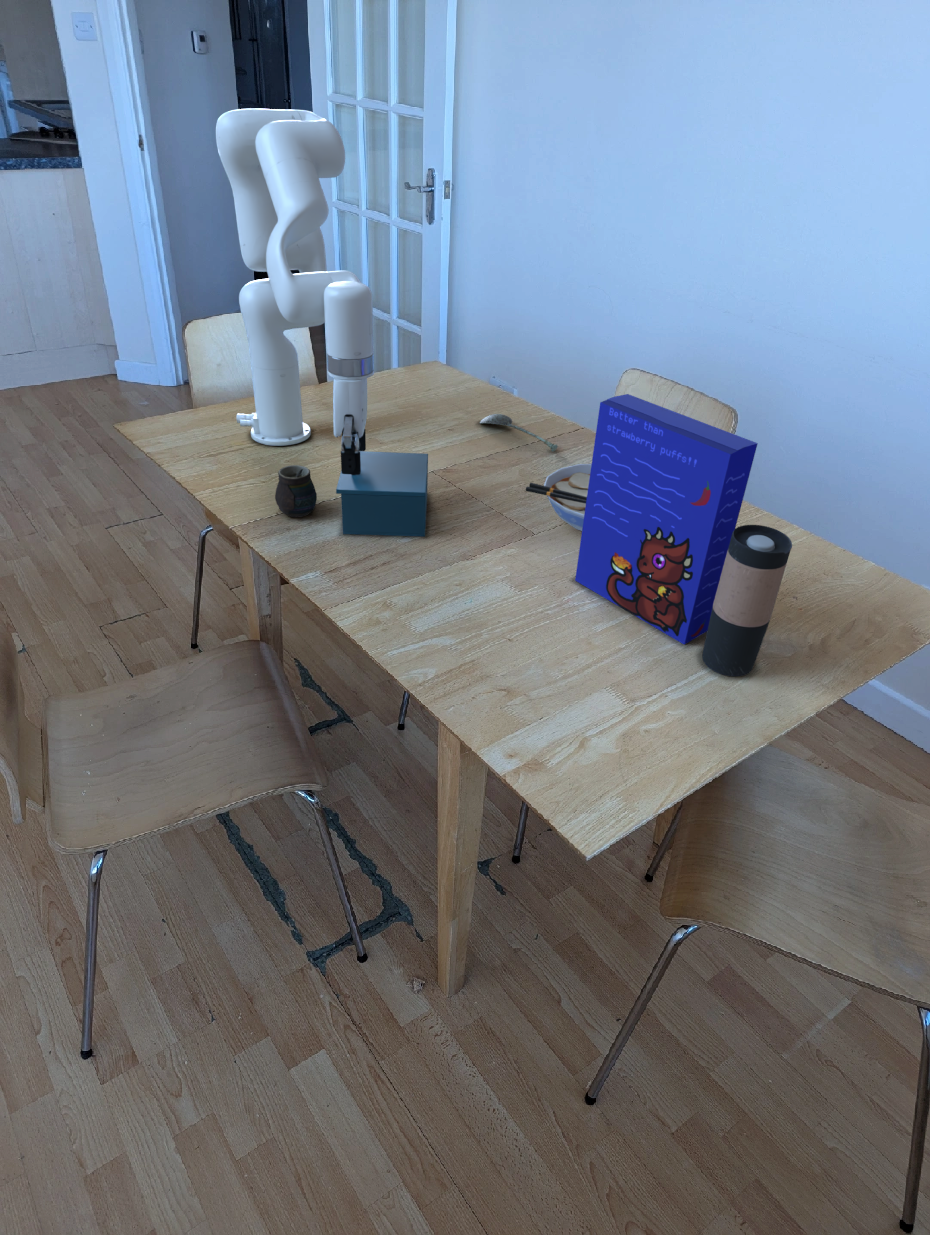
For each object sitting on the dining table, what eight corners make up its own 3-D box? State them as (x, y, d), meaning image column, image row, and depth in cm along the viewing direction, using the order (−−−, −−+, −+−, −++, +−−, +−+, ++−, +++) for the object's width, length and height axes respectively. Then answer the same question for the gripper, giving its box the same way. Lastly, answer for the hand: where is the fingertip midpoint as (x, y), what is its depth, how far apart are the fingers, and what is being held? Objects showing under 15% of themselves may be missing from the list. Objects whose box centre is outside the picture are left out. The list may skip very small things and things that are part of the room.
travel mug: (692, 645, 120) (723, 524, 108) (743, 644, 120) (778, 523, 109) (710, 678, 113) (744, 553, 102) (763, 677, 114) (803, 553, 103)
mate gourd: (304, 499, 152) (300, 448, 147) (327, 514, 148) (323, 463, 142) (269, 509, 148) (264, 458, 143) (292, 526, 144) (287, 473, 138)
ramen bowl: (685, 517, 153) (693, 476, 148) (654, 573, 136) (663, 530, 131) (558, 487, 161) (563, 448, 156) (514, 537, 144) (518, 495, 139)
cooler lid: (336, 493, 138) (334, 464, 135) (346, 454, 151) (345, 426, 148) (425, 496, 138) (426, 467, 135) (428, 457, 152) (428, 429, 149)
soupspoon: (495, 420, 191) (474, 427, 187) (495, 406, 189) (473, 413, 185) (565, 447, 177) (543, 456, 174) (565, 433, 175) (544, 441, 172)
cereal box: (708, 630, 123) (758, 441, 106) (684, 644, 120) (731, 452, 103) (599, 569, 136) (628, 392, 119) (575, 580, 133) (600, 400, 116)
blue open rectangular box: (342, 534, 142) (341, 494, 138) (352, 492, 156) (350, 455, 151) (425, 536, 143) (425, 497, 138) (427, 495, 156) (428, 457, 152)
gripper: (333, 347, 141) (338, 441, 150) (320, 381, 126) (326, 482, 136) (377, 348, 141) (379, 442, 151) (369, 382, 127) (371, 484, 136)
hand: (354, 461), depth 143 cm, fingers open, 9 cm apart
